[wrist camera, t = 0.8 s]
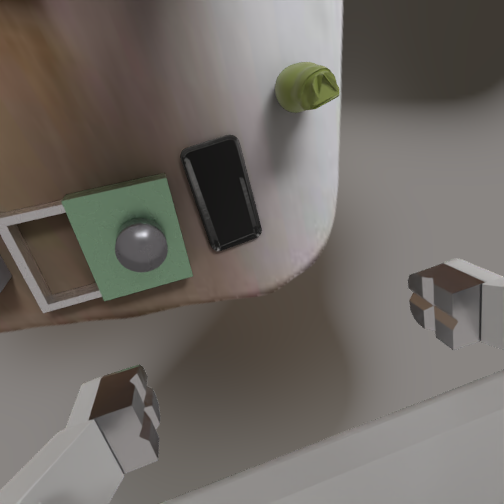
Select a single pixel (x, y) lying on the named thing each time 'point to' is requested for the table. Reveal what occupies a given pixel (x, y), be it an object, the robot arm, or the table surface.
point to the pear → (305, 87)
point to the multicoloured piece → (108, 240)
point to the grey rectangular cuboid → (4, 274)
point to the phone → (222, 191)
